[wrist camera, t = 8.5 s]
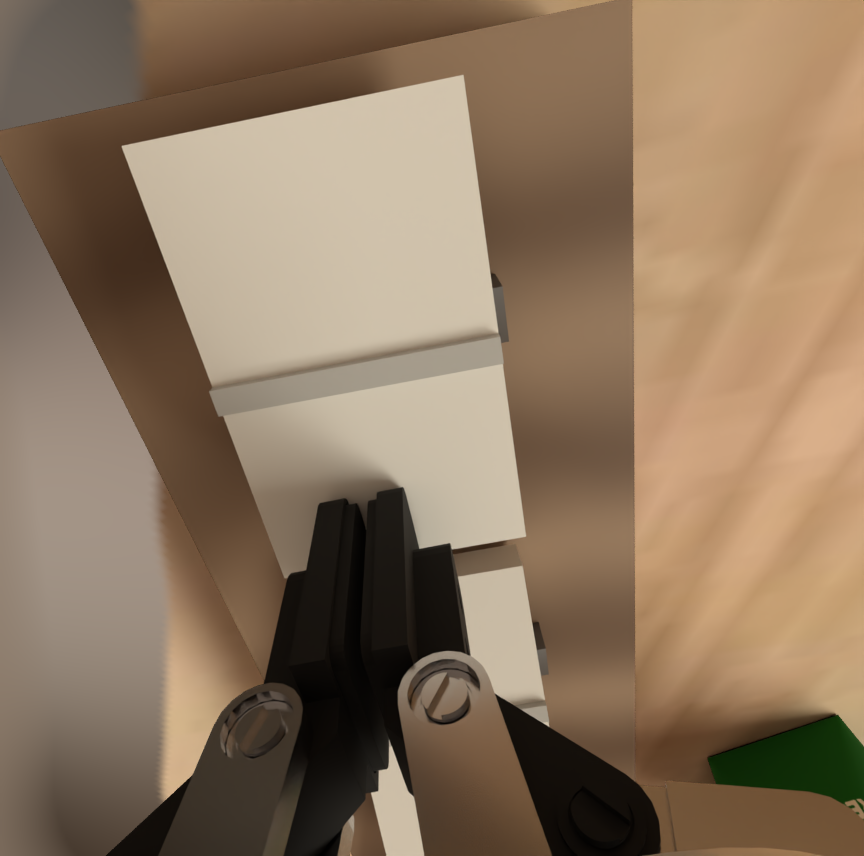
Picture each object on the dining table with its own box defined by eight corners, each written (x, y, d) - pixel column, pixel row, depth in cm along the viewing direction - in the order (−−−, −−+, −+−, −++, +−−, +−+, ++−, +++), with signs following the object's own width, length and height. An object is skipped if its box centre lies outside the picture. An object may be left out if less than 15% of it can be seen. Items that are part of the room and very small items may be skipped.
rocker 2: (333, 575, 16) (322, 603, 15) (515, 543, 16) (523, 569, 14) (391, 821, 18) (387, 869, 16) (557, 795, 18) (569, 842, 16)
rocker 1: (157, 147, 10) (114, 145, 8) (456, 84, 10) (464, 73, 8) (296, 538, 13) (282, 584, 12) (514, 500, 13) (528, 542, 12)
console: (94, 127, 15) (-68, 139, 10) (562, 29, 15) (653, -14, 9) (372, 790, 31) (367, 930, 26) (601, 754, 30) (644, 890, 25)
